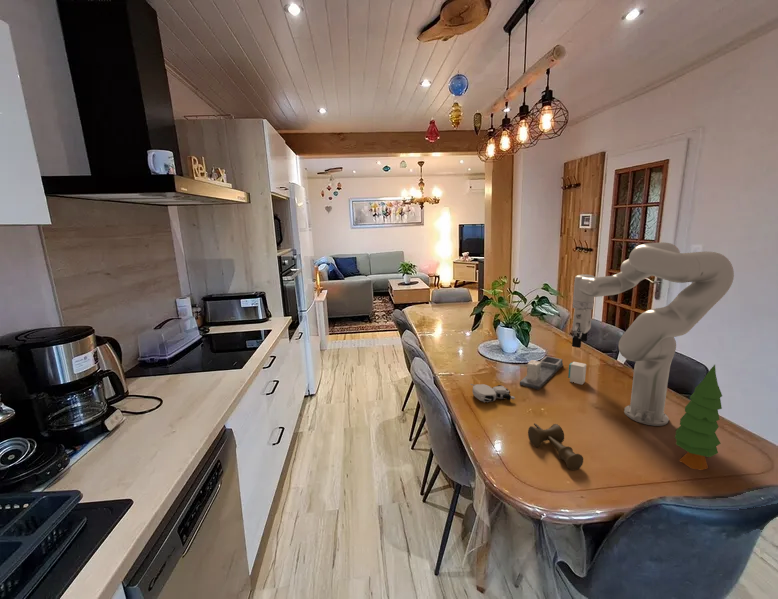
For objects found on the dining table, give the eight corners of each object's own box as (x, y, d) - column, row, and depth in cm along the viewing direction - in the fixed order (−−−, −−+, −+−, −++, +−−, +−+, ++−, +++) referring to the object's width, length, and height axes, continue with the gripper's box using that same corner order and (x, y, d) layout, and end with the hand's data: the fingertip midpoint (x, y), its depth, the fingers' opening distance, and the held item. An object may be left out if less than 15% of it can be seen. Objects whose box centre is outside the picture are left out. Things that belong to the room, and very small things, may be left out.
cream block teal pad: (582, 384, 149) (583, 367, 147) (567, 381, 152) (568, 363, 151) (584, 381, 151) (586, 364, 150) (570, 378, 155) (571, 361, 154)
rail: (538, 389, 145) (539, 368, 143) (519, 384, 151) (520, 364, 149) (562, 365, 168) (564, 347, 166) (545, 362, 174) (546, 343, 172)
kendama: (560, 475, 97) (520, 433, 116) (590, 470, 99) (546, 429, 118) (562, 456, 96) (521, 417, 115) (593, 452, 97) (547, 413, 117)
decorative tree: (722, 476, 93) (740, 371, 87) (680, 471, 96) (695, 368, 90) (701, 454, 102) (716, 357, 96) (663, 449, 105) (676, 355, 99)
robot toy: (502, 391, 147) (468, 392, 145) (503, 381, 146) (468, 382, 145) (516, 405, 135) (479, 407, 133) (517, 395, 135) (480, 396, 133)
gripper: (587, 310, 136) (583, 351, 140) (598, 301, 149) (594, 340, 152) (566, 307, 141) (563, 347, 145) (578, 299, 154) (575, 336, 157)
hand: (579, 343), depth 149 cm, fingers open, 9 cm apart
